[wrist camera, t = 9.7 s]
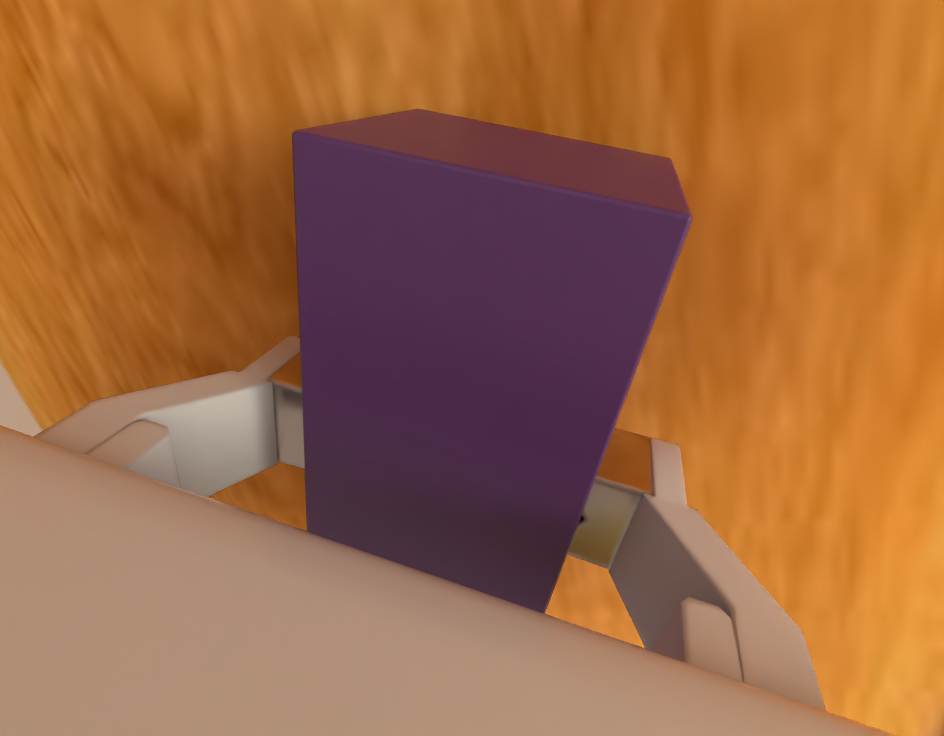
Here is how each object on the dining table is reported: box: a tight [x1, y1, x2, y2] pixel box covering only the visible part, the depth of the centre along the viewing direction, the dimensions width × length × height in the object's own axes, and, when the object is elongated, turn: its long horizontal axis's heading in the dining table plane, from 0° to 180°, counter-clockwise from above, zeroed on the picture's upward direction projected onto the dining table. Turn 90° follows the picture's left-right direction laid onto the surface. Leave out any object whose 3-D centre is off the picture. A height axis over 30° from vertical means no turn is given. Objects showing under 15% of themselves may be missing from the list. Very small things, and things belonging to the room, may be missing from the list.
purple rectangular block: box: [292, 109, 692, 614], centre depth 10 cm, size 10×4×4 cm, turn 172°
